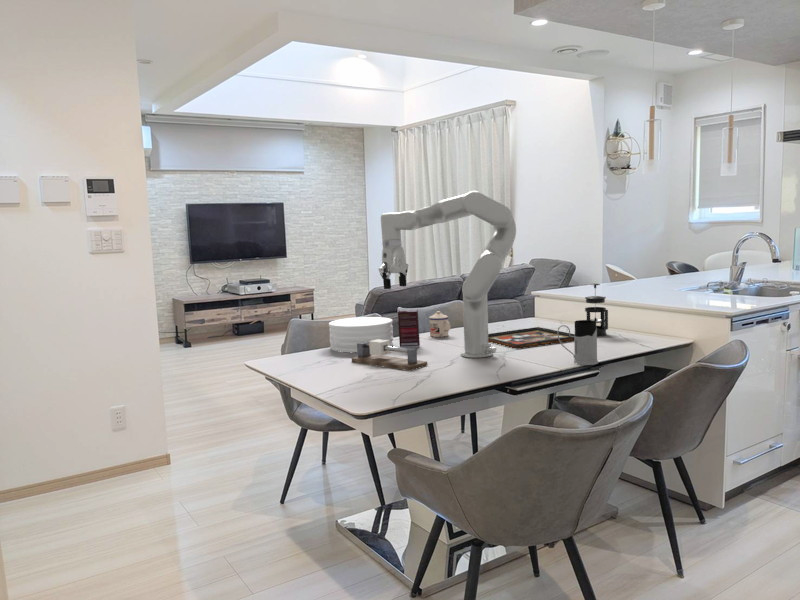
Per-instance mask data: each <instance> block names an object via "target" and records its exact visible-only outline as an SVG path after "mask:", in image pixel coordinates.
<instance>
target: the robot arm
mask: <svg viewBox="0 0 800 600" xmlns="http://www.w3.org/2000/svg"><path fill="white" fill-rule="evenodd" d="M469 216H474V217H476V218H478V219H481V220H482V221H484V222H486V223H488V224H490V225H491V226H493V233H492V235H491V236H490V239H489V240H488V242H487V244H486V247H484V250H483V251H482V253H480V255H479V256H478V257H477V260H476V262H475V264H474V265H473V267H472V269H471V271H470V273H469V274H468V276H467V277H466V278H465V280H464V281H463V283H462V287H461V292H462V304H463V305H462V311H463V336H464V337H463V338H464V339H463V343H464V345H463V347H464V350H462V351H461V352H460V356H462V357H464V358H472V359H474V358H475V359H477V358H479V359H480V358H488V357H491V356H493V354H495V353H496V351H497V347H495V346H492V343H490V342H489V341H488V334H489V310H488V308H489V307H488V306H489V304H488V293H489V292H490V289H491V288H492V286H493V285H494V284H495V282H496V280H497V278H498V276H499V275H500V272H501V271H502V267H503V262H504V260H505V259H506V257H507V255H508V253H509V252H510V249H511V247H512V246H513V244H514V241H515V240H516V235H517V226H516V222H515V221H516V220H515V219H514V216H513V212H512V210H511V209H510V207H508V206H506V205H505V204H503V203H501V202H498V201H496V200H494V199H493V198H491V197H489V196H487V195H485V194H484V193H482V192H480V191H478V190H471V191H469V192H467V193H464V194H461V195H456V196H453V197H450V198H446V199H441V200H438V201H437V202H436V203H434V204H432V205H429V206H428V205H427V206H426V207H422V208H418V209H414V210H406V211H402V212H401V211H400V212H385V213H382V214H381V215H380V227H381V228H380V229H381V240H382V243H381V244H382V251H381V252H382V253H381V264H382V265H381V266H379V268H378V272H379V275H380V276H381V279H382V280H383V281H382V282H383V289H384V290H391V289H392V283H391V278H390V277H391V274H398V275H399V276H398V284H399V286H400V287H406V286H407V276H408V275H407V273H408V269H409V264H408V263H407V260H406V256H405V255H406V254H405V249H404V247H403V246H402V231H414V230H417V229H421V228H426V227H429V226H433V225H437V224H443V223H448V222H451V221H455V220H458V219H462V218H466V217H469Z"/></svg>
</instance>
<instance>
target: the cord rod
mask: <svg viewBox="0 0 800 600" xmlns="http://www.w3.org/2000/svg"><path fill="white" fill-rule="evenodd" d="M383 348H384V350H389V351H390V352H397V353H405V354H407V359H408V364H414V363H417V360H418V353H417V350H418V349H417V348H400V346H399V347H397V346H393V347H391V346H383ZM356 355H357V357H361V358H364V357H368V356H371V354H370V344H369V342H360V343H357V354H356Z"/></svg>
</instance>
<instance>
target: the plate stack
mask: <svg viewBox="0 0 800 600" xmlns="http://www.w3.org/2000/svg"><path fill="white" fill-rule="evenodd" d="M328 327H329V344H330V346H329V349H330V350H331V349H332V350H334V351H333V352H336V351H339V352H338V353H343V352H357V343H360V342H369V341H372V340H377V339H381V340H390V346H391V347H392V346H393V347H394V331H393V329H394V328H393V327H394V326H393V319H392V318H390V317H383V316H358V317H348V318H347V317H345V318H341V319H335V320H332V321H330V322H328ZM332 350H331V351H332ZM340 351H341V352H340Z"/></svg>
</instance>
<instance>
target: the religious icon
mask: <svg viewBox="0 0 800 600" xmlns="http://www.w3.org/2000/svg"><path fill="white" fill-rule="evenodd" d="M557 331H558V330H555V329H552V328H551V329H550V328H545V327H539V326H536V327H530V328H529V327H528V328H521V329H520V328H519V329H513V330H509V331H508V330H505V331H500V332H492V333H488V341H489V343H490V342H493V343H492V344H494V343H497V344H496V345H498V344H501V345H500V346H502V345H505V346H504V347H506V346H509V347H508V348H510V347H512V348H511V349H513V348H521V349H524V348H523V347H528V348H531V347H530V346H535V347H539V346H538V345H542V346H546V345H545V344H549V345H552V344H551V343H556V344H561V343H560V341H561V342H563V343H568V342H567V341H570V342H574V337H571V336H574V335H575V333H571V332H570V335H571V336H570V335H569V332H565V331H560V330H559V332H558V333H559V339H560V341H559V339H558V333H557Z"/></svg>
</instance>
